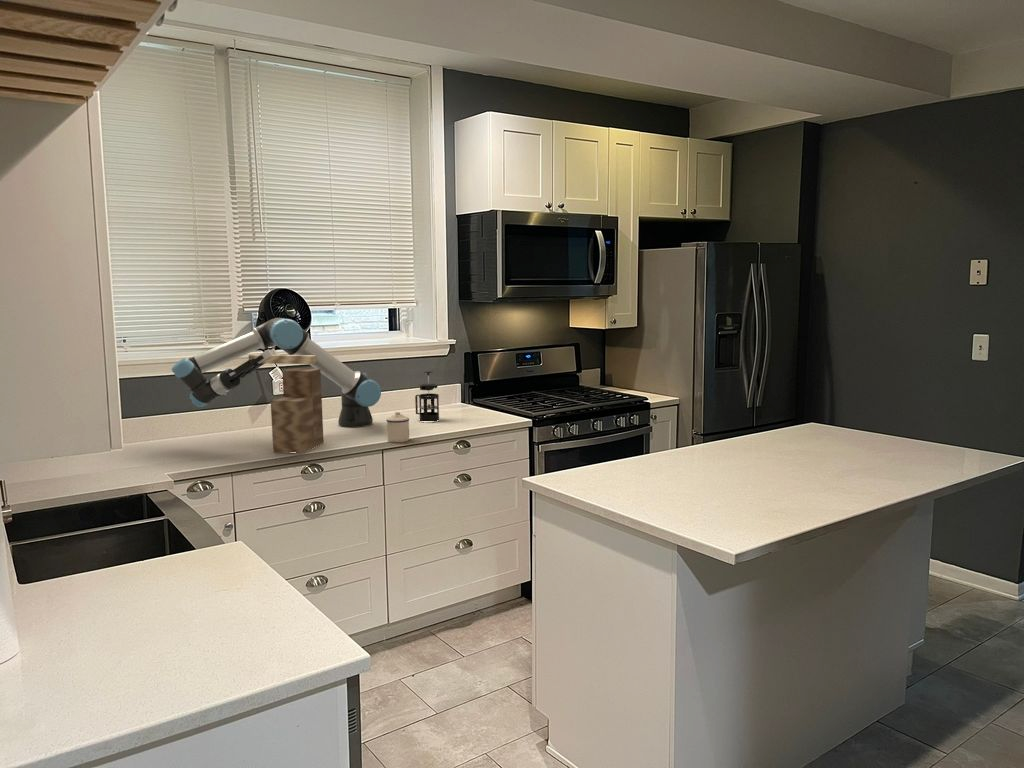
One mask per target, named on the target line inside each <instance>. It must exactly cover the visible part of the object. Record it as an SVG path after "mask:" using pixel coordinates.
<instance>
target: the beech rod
mask: <svg viewBox="0 0 1024 768" xmlns="http://www.w3.org/2000/svg"><path fill="white" fill-rule="evenodd" d="M258 355H260V354H254V353H253V354H249V355H248V360H252V359H255V357H257V356H258ZM257 363H258V362H257ZM261 363H265V364H274V365H275V364H276V365H277V364H282V365H284V364H285V365H286V364H287V365H309V364H316V355H289V354H277V355H273V356H271V357H269V358H268V359H266V360H265V361H263V362H261Z"/></svg>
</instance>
